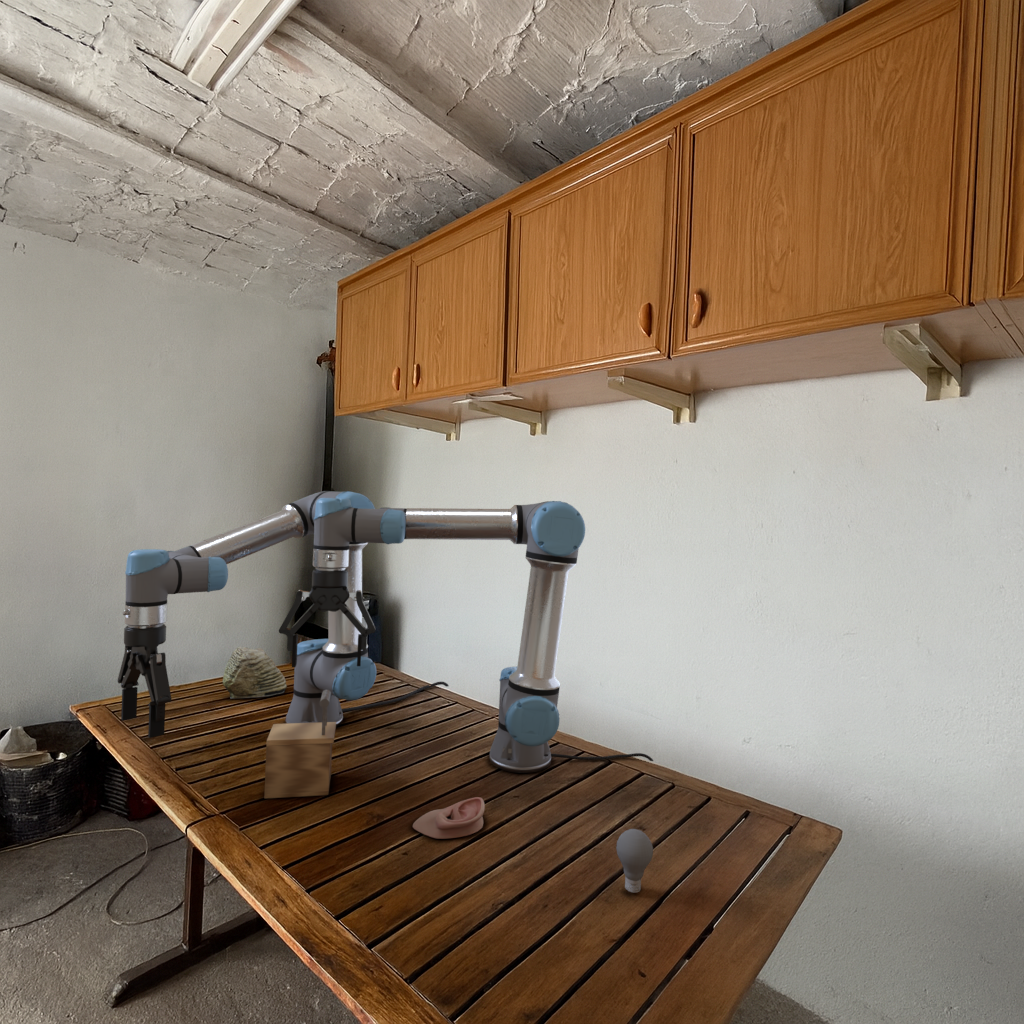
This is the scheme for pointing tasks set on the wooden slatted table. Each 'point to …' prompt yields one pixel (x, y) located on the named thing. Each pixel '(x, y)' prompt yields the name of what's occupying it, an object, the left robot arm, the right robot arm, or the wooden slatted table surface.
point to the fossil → (252, 674)
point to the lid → (305, 729)
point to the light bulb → (634, 857)
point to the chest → (298, 770)
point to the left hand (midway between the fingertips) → (142, 727)
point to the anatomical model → (453, 820)
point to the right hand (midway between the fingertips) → (326, 665)
